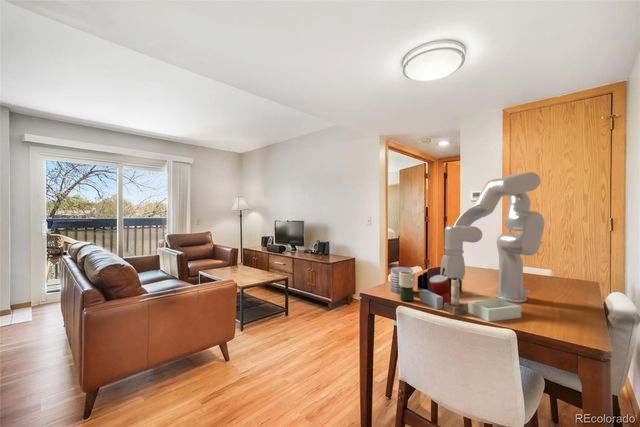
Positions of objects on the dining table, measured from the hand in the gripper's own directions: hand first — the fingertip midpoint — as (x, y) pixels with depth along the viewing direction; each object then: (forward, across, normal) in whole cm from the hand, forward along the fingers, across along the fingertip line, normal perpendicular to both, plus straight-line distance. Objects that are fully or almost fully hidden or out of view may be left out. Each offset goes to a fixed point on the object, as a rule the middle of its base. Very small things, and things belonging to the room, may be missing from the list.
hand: (452, 292), depth 126 cm
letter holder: (+5, -6, -17) cm, 19 cm away
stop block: (+5, +12, 0) cm, 13 cm away
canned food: (+4, +4, 0) cm, 5 cm away
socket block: (+4, +8, +10) cm, 14 cm away
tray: (+4, -5, +17) cm, 18 cm away
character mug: (+5, +19, -8) cm, 21 cm away
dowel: (+4, +8, +10) cm, 14 cm away
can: (+5, +14, -21) cm, 26 cm away
